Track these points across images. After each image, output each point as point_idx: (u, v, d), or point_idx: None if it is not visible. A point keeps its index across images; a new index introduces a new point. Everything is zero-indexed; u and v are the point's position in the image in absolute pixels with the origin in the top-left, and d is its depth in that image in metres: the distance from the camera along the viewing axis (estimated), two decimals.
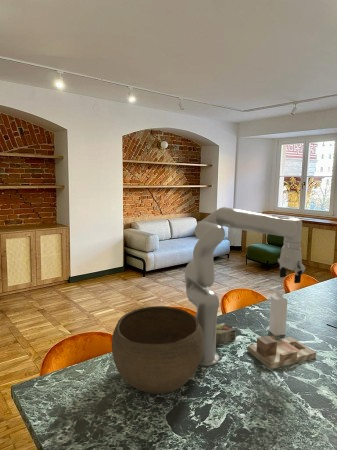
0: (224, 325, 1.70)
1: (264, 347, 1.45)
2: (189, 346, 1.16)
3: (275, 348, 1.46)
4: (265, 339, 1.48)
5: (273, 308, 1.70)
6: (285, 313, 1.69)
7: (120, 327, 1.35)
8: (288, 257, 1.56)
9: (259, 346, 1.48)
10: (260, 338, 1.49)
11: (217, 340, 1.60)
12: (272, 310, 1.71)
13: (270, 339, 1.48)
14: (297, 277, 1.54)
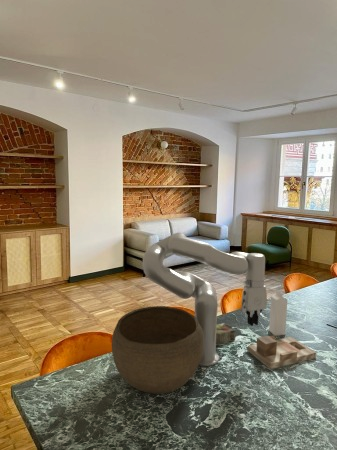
0: (224, 325, 1.70)
1: (264, 347, 1.45)
2: (189, 346, 1.16)
3: (275, 348, 1.46)
4: (265, 339, 1.48)
5: (273, 308, 1.70)
6: (285, 313, 1.69)
7: (120, 327, 1.35)
8: (260, 297, 1.40)
9: (259, 346, 1.48)
10: (260, 338, 1.49)
11: (216, 340, 1.60)
12: (272, 310, 1.71)
13: (270, 339, 1.48)
14: (257, 317, 1.43)
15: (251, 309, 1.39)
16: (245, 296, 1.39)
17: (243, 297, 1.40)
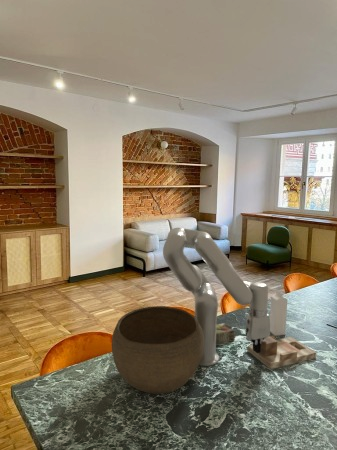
0: (224, 325, 1.70)
1: (265, 347, 1.45)
2: (189, 346, 1.16)
3: (275, 348, 1.46)
4: (266, 339, 1.48)
5: (273, 308, 1.70)
6: (285, 313, 1.69)
7: (120, 327, 1.35)
8: (263, 326, 1.42)
9: None
10: None
11: None
12: (272, 310, 1.71)
13: (271, 339, 1.48)
14: None
15: (255, 338, 1.41)
16: (249, 325, 1.42)
17: (247, 326, 1.43)
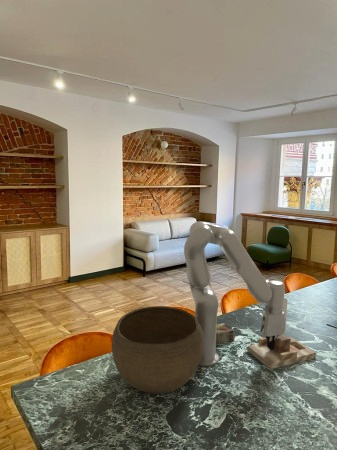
0: (223, 325, 1.70)
1: (278, 344, 1.48)
2: (189, 346, 1.16)
3: (289, 345, 1.49)
4: (279, 336, 1.50)
5: None
6: (285, 313, 1.69)
7: (120, 327, 1.35)
8: (279, 323, 1.45)
9: None
10: None
11: None
12: None
13: (284, 336, 1.51)
14: None
15: (270, 334, 1.44)
16: (264, 322, 1.45)
17: (262, 323, 1.46)
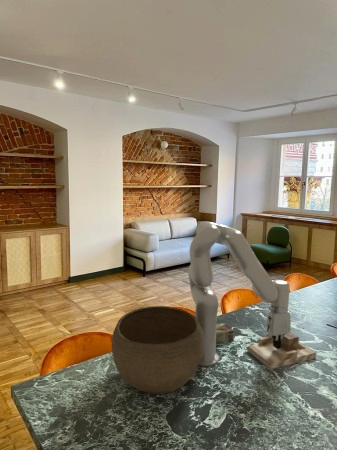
0: (223, 325, 1.69)
1: (287, 342, 1.49)
2: (189, 346, 1.16)
3: (297, 343, 1.51)
4: (287, 335, 1.52)
5: None
6: None
7: (120, 327, 1.35)
8: (284, 322, 1.47)
9: (281, 342, 1.52)
10: None
11: None
12: None
13: (292, 334, 1.53)
14: None
15: (276, 334, 1.46)
16: (270, 321, 1.46)
17: (268, 322, 1.47)
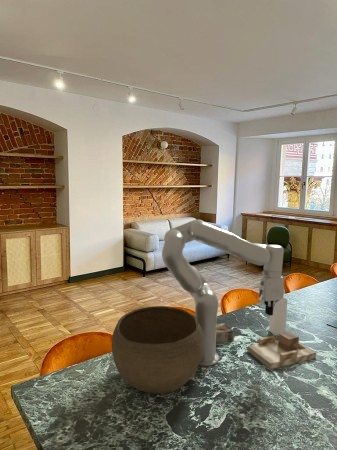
0: (223, 325, 1.69)
1: (287, 342, 1.49)
2: (189, 346, 1.16)
3: (297, 343, 1.51)
4: (287, 335, 1.52)
5: (273, 308, 1.70)
6: (285, 313, 1.69)
7: (120, 327, 1.35)
8: (277, 288, 1.42)
9: (281, 342, 1.52)
10: (282, 334, 1.53)
11: None
12: None
13: (292, 334, 1.53)
14: (272, 308, 1.46)
15: (268, 299, 1.42)
16: (263, 286, 1.42)
17: (261, 287, 1.43)
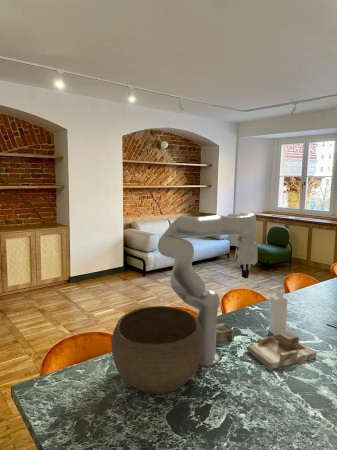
0: (223, 325, 1.69)
1: (287, 342, 1.49)
2: (189, 346, 1.16)
3: (297, 343, 1.51)
4: (287, 335, 1.52)
5: (273, 308, 1.70)
6: (285, 313, 1.69)
7: (120, 327, 1.35)
8: (251, 252, 1.56)
9: (281, 342, 1.52)
10: (282, 334, 1.53)
11: None
12: (272, 310, 1.71)
13: (292, 334, 1.53)
14: None
15: (243, 263, 1.55)
16: (238, 251, 1.55)
17: (236, 252, 1.56)
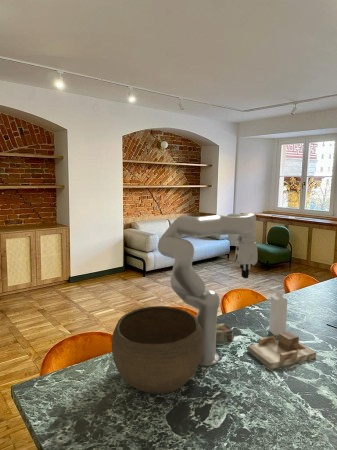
0: (223, 325, 1.69)
1: (287, 342, 1.49)
2: (188, 346, 1.16)
3: (297, 343, 1.51)
4: (287, 335, 1.52)
5: (273, 308, 1.70)
6: (285, 313, 1.69)
7: (120, 327, 1.35)
8: (251, 252, 1.56)
9: (281, 342, 1.52)
10: (282, 334, 1.53)
11: None
12: (272, 310, 1.71)
13: (292, 334, 1.53)
14: None
15: (243, 263, 1.55)
16: (238, 251, 1.55)
17: (236, 252, 1.56)
